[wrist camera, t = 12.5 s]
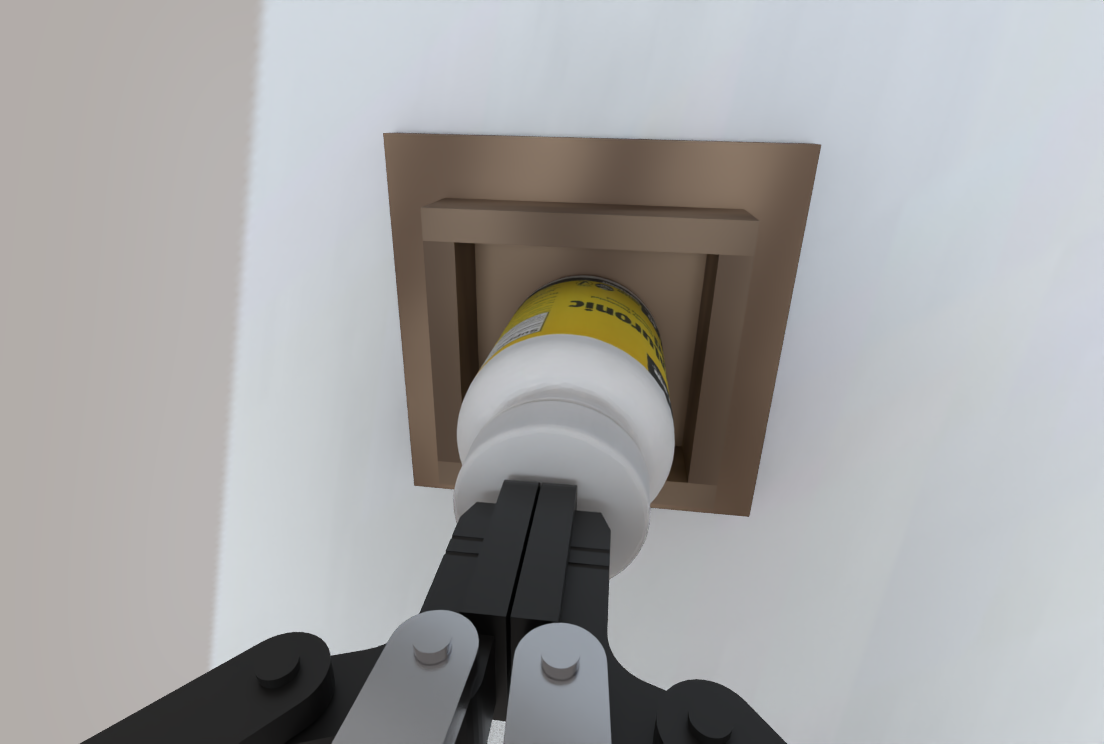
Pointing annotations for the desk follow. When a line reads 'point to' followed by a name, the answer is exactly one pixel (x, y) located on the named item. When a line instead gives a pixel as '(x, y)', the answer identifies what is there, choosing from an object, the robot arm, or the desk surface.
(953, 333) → the desk surface
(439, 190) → the cup holder
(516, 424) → the supplement bottle
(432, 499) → the desk surface
